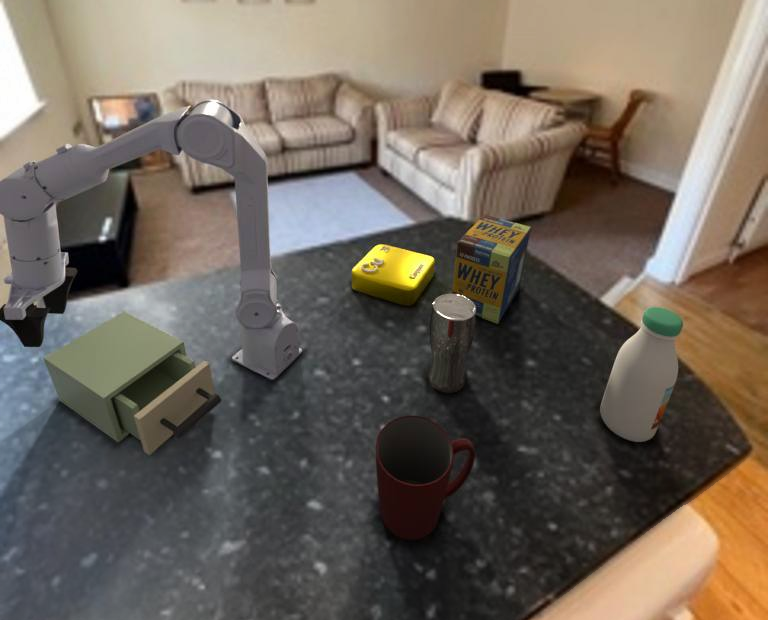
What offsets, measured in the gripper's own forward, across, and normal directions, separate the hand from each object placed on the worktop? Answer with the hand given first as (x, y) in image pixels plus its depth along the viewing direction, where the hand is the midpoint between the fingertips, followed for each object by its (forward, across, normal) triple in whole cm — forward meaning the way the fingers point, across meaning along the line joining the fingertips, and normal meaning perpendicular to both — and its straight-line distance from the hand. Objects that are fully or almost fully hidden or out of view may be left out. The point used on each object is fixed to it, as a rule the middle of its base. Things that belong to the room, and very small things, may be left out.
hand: (45, 328), depth 68 cm
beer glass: (0, +11, +62) cm, 63 cm away
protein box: (-2, -10, +78) cm, 79 cm away
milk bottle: (-4, +24, +87) cm, 90 cm away
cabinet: (+9, +4, +12) cm, 16 cm away
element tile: (+1, -19, +60) cm, 63 cm away
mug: (+2, +30, +53) cm, 61 cm away
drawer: (+7, +10, +19) cm, 22 cm away
